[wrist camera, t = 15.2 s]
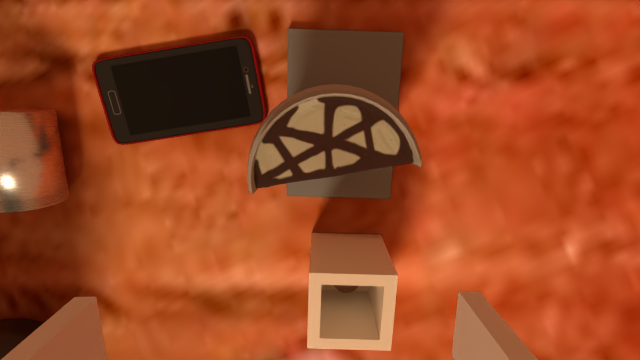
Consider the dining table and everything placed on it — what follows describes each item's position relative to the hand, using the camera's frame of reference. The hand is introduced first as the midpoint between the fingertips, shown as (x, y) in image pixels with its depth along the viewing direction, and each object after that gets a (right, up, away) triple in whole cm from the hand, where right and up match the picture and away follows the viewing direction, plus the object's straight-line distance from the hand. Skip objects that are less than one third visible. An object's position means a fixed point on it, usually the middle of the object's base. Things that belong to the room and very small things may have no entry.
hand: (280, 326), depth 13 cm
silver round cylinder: (-25, +8, +20) cm, 33 cm away
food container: (+2, +11, +19) cm, 22 cm away
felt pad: (+3, +11, +19) cm, 23 cm away
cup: (+4, -3, +23) cm, 24 cm away
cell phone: (-11, +14, +19) cm, 26 cm away
